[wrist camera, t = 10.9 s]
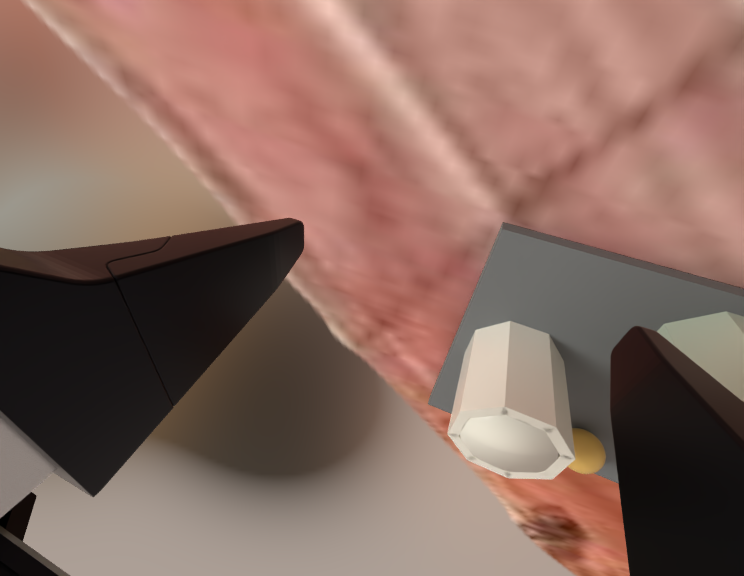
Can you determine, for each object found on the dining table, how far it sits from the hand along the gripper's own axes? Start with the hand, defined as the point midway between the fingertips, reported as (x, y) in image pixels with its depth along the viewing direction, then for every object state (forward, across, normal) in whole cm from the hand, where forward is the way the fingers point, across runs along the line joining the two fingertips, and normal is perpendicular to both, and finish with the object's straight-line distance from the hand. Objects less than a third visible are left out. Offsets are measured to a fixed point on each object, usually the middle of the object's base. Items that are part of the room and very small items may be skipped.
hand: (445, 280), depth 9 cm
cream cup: (+11, -6, +12) cm, 17 cm away
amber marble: (+10, -13, +17) cm, 23 cm away
